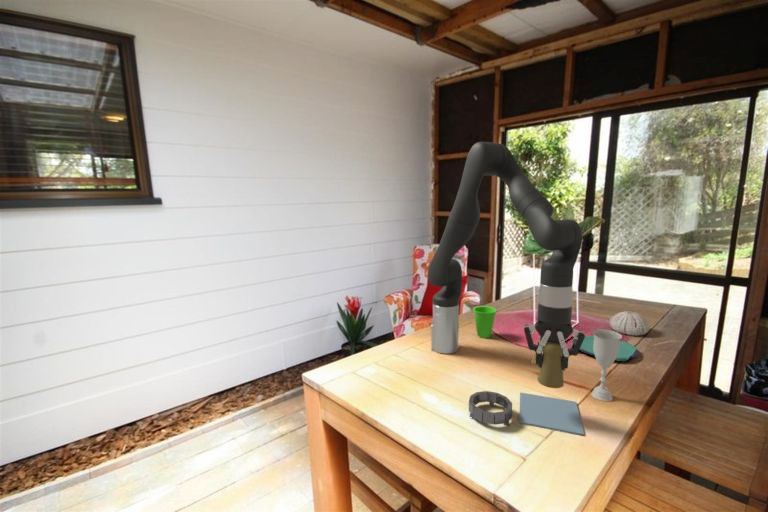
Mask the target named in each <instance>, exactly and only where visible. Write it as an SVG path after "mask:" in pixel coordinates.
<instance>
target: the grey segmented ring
mask: <svg viewBox="0 0 768 512" xmlns="http://www.w3.org/2000/svg"><path fill="white" fill-rule="evenodd" d="M480 403H488V404H489V405H488V406H489V407H495V404H497V405H498V406H500V407H502V408H503V409H504V410H502V411H496V412H492V411H487V410H483V409H481V408H480V407H477V405H478V404H480ZM468 411H469V418H470V417H472V418H471V419H473V418H475V419H476V420H477V421H480V422H481V423H485V424H488V425H504V426H508V427H509V426H510V420H512V418H513V417H512V416H513V403H512V401H511V399H509V398H508V397H507V396H505V395H503V394H501V393H499V392H494V391H490V390H489V391H487V390H483V391H476V392H474V393H472V394H471V395H470V396H469V400H468Z"/></svg>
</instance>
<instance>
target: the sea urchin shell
mask: <svg viewBox="0 0 768 512" xmlns="http://www.w3.org/2000/svg"><path fill="white" fill-rule="evenodd" d="M609 325H610V328H611V329H613V331H615V332H617V333H620V334H623V335H627V336H636V337H638V336H643V335H645V334H648V332H649V331H650V325H649V323H648V320H646V318H645V317H644V316H642V314H640V313H638V312H634V311H630V310H629V311H627V310H625V311H620V312H618V313H616V314H615V315H613V316H611V317H610V318H609Z"/></svg>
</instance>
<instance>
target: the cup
mask: <svg viewBox="0 0 768 512" xmlns="http://www.w3.org/2000/svg"><path fill="white" fill-rule="evenodd" d="M472 310H473V313H474V321H475V328H476V333H477V334H476V335H477V337H479V338H480V339H489V338H490V337H491V336H492V333H493V328H494V322H495V318H496V317H495V316H496V313H497V311H498V310H497V308H496V307H493V306H489V305H488V306H487V305H478V306H474V307H473V308H472Z"/></svg>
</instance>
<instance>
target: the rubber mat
mask: <svg viewBox="0 0 768 512" xmlns="http://www.w3.org/2000/svg"><path fill="white" fill-rule="evenodd" d="M518 417H519V421H518V422H519V424H523V425H526V426H532V427H538V428H542V427H543V429H547V428H549V429H548V430H552V429H554V430H553V431H557V430H560V431H559V432H562V431H564V432H563V433H567V432H568V434H572V435H573V434H574V435H578V436H583V437H584V436H585V433H584V429H583V425H582V420H581V416H580V412H579V408H578V404H577V401H574V400H567V399H561V398H555V397H550V396H544V395H538V394H532V393H526V392H519V416H518Z"/></svg>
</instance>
